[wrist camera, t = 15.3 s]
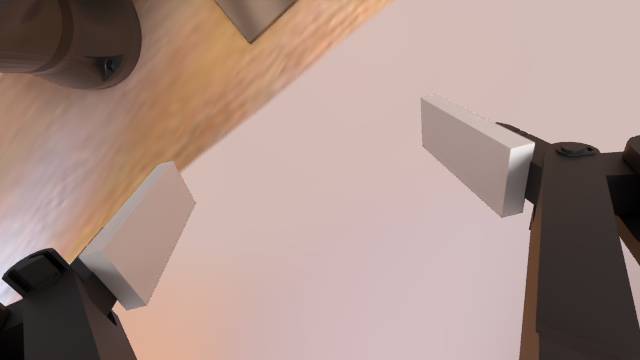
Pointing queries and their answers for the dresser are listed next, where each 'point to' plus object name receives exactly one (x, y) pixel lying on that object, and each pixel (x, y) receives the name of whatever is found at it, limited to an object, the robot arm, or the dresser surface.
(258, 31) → the walnut board
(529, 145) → the robot arm
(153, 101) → the dresser surface
